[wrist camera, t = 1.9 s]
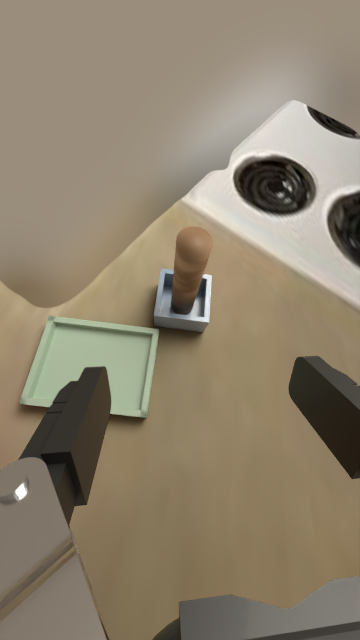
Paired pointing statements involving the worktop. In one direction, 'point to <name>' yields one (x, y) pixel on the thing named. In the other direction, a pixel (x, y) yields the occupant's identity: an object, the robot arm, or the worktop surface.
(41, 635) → the robot arm
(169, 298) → the pale blue open box
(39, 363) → the tray
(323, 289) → the worktop surface
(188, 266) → the dowel
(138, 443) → the worktop surface
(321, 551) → the worktop surface
